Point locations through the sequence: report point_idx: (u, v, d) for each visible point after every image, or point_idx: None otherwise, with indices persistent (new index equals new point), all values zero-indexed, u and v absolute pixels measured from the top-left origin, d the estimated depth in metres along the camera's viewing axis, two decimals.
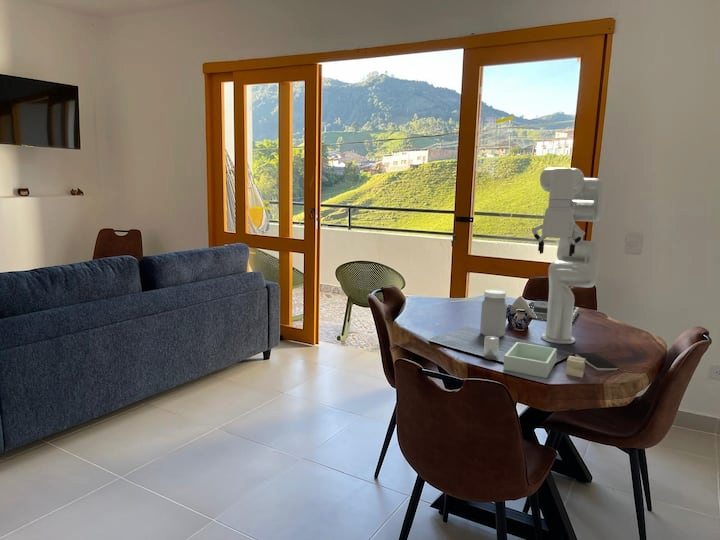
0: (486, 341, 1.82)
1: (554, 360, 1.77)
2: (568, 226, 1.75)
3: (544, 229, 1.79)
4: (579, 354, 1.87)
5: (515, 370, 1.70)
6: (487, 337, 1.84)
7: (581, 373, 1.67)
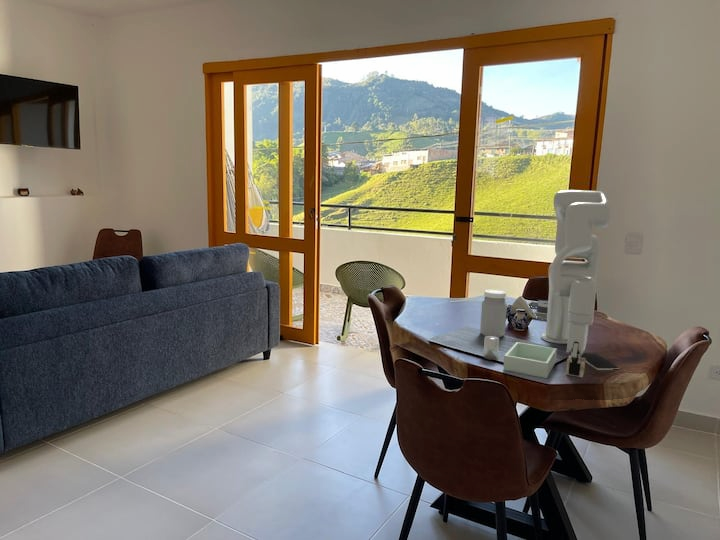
0: (486, 341, 1.82)
1: (554, 360, 1.77)
2: None
3: (583, 348, 1.64)
4: None
5: (515, 370, 1.70)
6: (487, 337, 1.84)
7: (581, 373, 1.67)
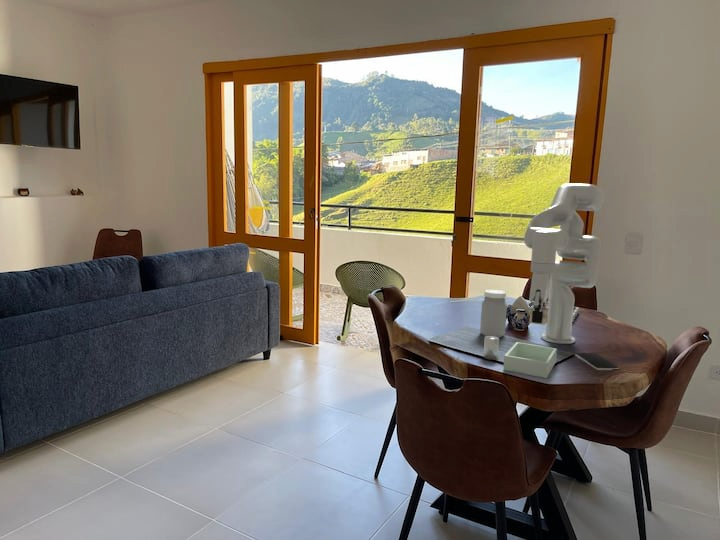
0: (486, 341, 1.82)
1: (554, 360, 1.77)
2: (549, 287, 1.77)
3: (545, 295, 1.70)
4: (579, 354, 1.87)
5: (515, 370, 1.70)
6: (487, 337, 1.84)
7: (543, 320, 1.73)
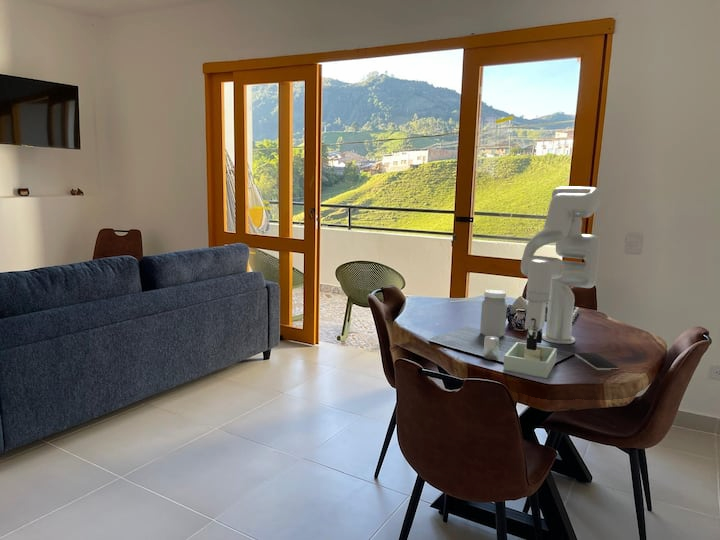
0: (486, 341, 1.82)
1: (554, 360, 1.77)
2: None
3: (540, 324, 1.72)
4: (579, 354, 1.88)
5: (515, 370, 1.70)
6: (487, 337, 1.84)
7: None
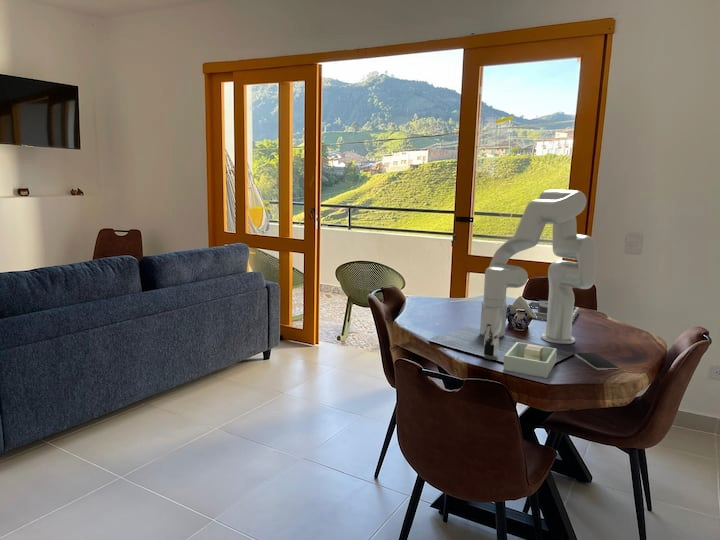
0: None
1: (554, 360, 1.77)
2: (501, 321, 1.84)
3: (495, 330, 1.78)
4: (579, 354, 1.88)
5: (515, 370, 1.70)
6: None
7: None
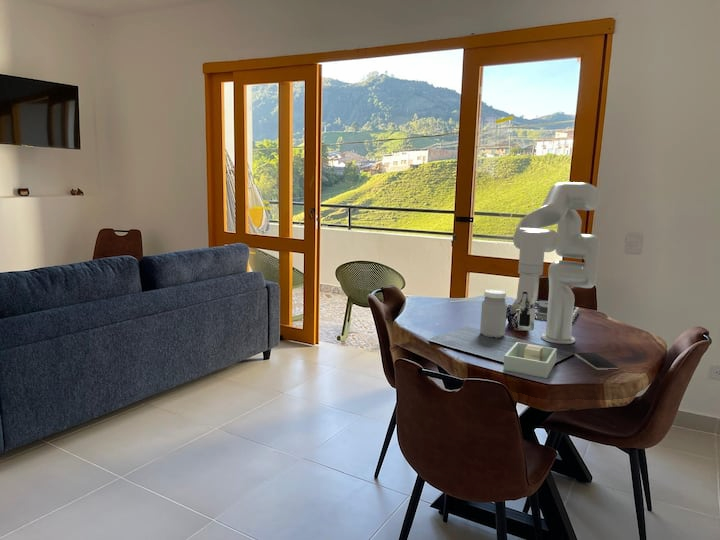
0: None
1: (554, 360, 1.77)
2: None
3: (532, 298, 1.65)
4: (578, 354, 1.88)
5: (515, 370, 1.70)
6: None
7: None
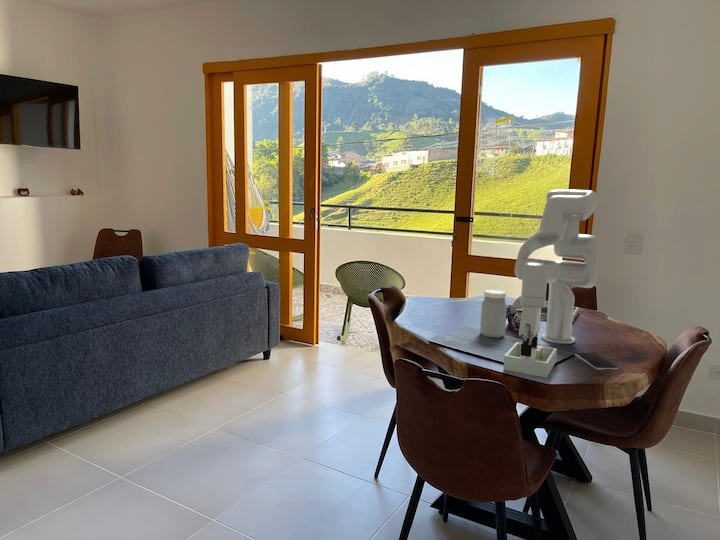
0: None
1: (554, 360, 1.77)
2: (540, 320, 1.71)
3: (535, 330, 1.65)
4: (578, 354, 1.88)
5: (515, 370, 1.70)
6: None
7: None
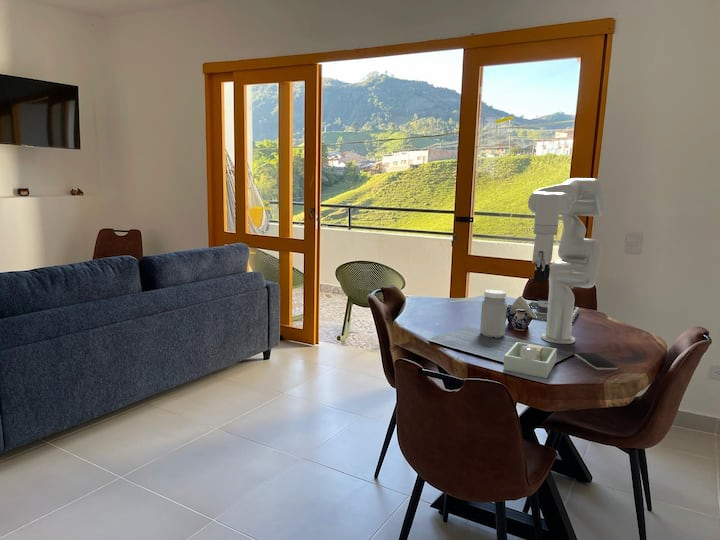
0: (522, 352, 1.70)
1: (554, 360, 1.77)
2: (552, 250, 1.79)
3: (547, 257, 1.72)
4: (578, 354, 1.88)
5: (515, 370, 1.70)
6: (523, 347, 1.72)
7: None
